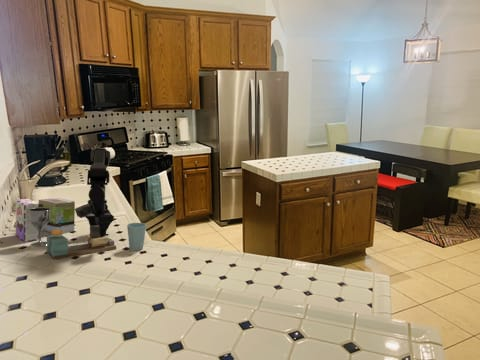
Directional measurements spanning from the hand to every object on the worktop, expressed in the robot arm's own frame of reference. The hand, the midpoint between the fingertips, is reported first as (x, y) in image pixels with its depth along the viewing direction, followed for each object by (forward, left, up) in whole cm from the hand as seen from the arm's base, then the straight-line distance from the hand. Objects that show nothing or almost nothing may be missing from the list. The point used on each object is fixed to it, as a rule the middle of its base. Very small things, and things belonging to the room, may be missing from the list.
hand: (97, 234), depth 149 cm
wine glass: (-18, -17, -6) cm, 25 cm away
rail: (0, -6, -6) cm, 8 cm away
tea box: (-38, -5, -6) cm, 39 cm away
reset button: (0, -15, +2) cm, 16 cm away
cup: (+9, +13, -6) cm, 17 cm away
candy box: (-31, -19, -6) cm, 37 cm away
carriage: (0, 0, -4) cm, 4 cm away
